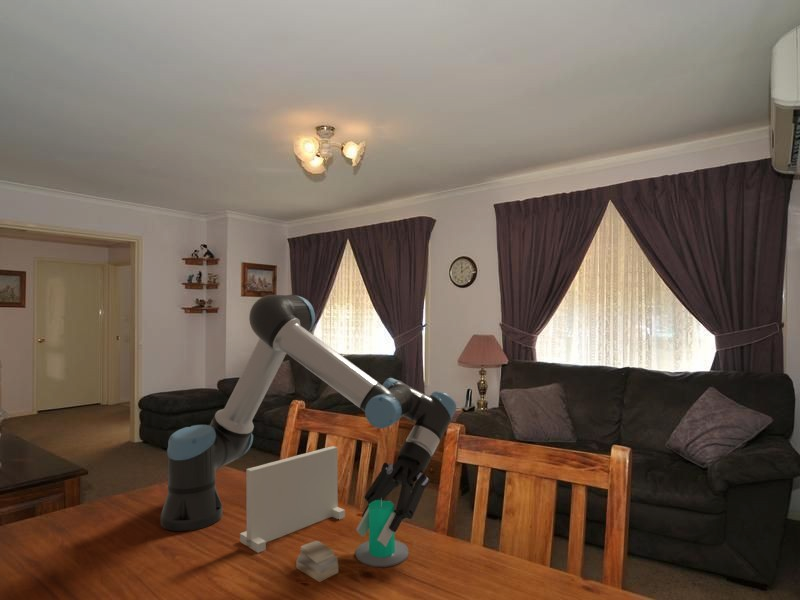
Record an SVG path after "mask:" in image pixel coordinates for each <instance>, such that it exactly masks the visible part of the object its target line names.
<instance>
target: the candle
mask: <svg viewBox="0 0 800 600" xmlns="http://www.w3.org/2000/svg"><path fill="white" fill-rule="evenodd" d="M394 510H395V504H394V503H393V502H392V501H391V500H383V501H382V498H381V500H375V501H373V502H371V503H370V504H369V529H368V541H369V553H370V554H371V555H372V556H376V557H387V556H390V555H392V554H393V553H394V552H395V540H396V532H393V534H392V536H391V538H390V540H389V542H388V543H387V545H386V547H385V546H383V545H382V544H381V543H380V542H379V541H378V540H377V539H378V537H379V535H380V533H381V532H382V530H383V528H384V526H385V524H386V522H387V520H388V518H389V517H390V515H391V513H394V514H395V512H394Z"/></svg>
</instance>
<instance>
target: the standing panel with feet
mask: <svg viewBox="0 0 800 600" xmlns="http://www.w3.org/2000/svg"><path fill="white" fill-rule="evenodd" d="M338 472H339V471H338V447H337V446H333V445H331V446H328V447H325V448H320V449H317V450H313V451H309V452H306V453H301V454H298V455H294V456H290V457H287V458H283V459H280V460H276V461H270V462H268V463H264V464H261V465H257V466H253V467H248V468H246V475H245V476H246V480H245V481H246V488H245V489H246V493H245V494H246V501H245V502H246V509H245V510H246V530H245V531H243V532H239V542H240V543H241V544H243V545H245V546H247V547H248V548H249V549H250V550H253V551H254V552H255V553H257V554H259V553H261V552H264V551H266V550H267V549H266V548H267V543H269V542H272V541H274V540H276V539H278V538H282V537H284V536H287V535H289V534H292V533H294V532H296V531H299V530H302V529H304V528H306V527H309V526H311V525H315V524H317V523H319V522H322V521H324V520H327V519H330V518H333V519H336V520H338V519H339V521H340V520H342V519H345V518H346V509H344V508H341V507H339V505H338V503H339V502H338V500H339V496H338V487H339V486H338V485H339V484H338V477H339V476H338Z"/></svg>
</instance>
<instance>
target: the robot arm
mask: <svg viewBox="0 0 800 600" xmlns="http://www.w3.org/2000/svg"><path fill="white" fill-rule="evenodd" d="M248 320H249V325H250V327H251V330H252V331H253V332H254V334H255V335H256V336H257V337H258V338H259V339H258V341H257V343H256V345H255V347H254V349H253V351H252V353H251V355H250V357H249V359H248V361H247V363H246V365H245V366H244V368H243V371H242V373H241V375H239V376H240V377H239V379H238V381H237V382H236V385H235V387H234V389H233V391H232V392H231V395H230V396H229V398H228V400H227V402H226V405H225V406H224V408H222V409H219V410H217V411H216V412H215V415H214V416H213V418H212V420H211V422H210V424H208V425H207V424H194V425H191V426H185V427H182V428H180V429H177V430H176V431H175V432H173V433H172V434H171V435H170V436H169V439H168V441H167V442H168V445H167V448H166V453H167V455H166V456H167V495H166V498H165V502H164V505H163V508H162V511H161V513H160V526H161V527H162V528H163V529H164V530H168V531H172V532H173V531H174V532H187V531H194V530H198V529H203V528H206V527H209V526H211V525H213V524H215V523H218V521H219V520H221V518H222V517H223V504H222V500H221V498H220V496H219V493H218V490H217V488H216V487H217V486H216V470H217V469H220V468H222V467H224V466H226V465H228V464H230V463H232V462H235V461H237V460H239V459H240V458H242V456H244V455H245V454H246V453H247V452H248V451H249V450H250V448H251V446H252V445H253V441H254V434H253V431H254V428H255V425H254V423H253V419H254V418H255V415H256V414H257V412H258V409H259V408H260V406H261V404H262V402H263V400H264V398H265V396H266V394H267V393H268V391H269V390H270V389H269V388H270V386H271V384H272V382H273V381H274V380H275V377H276V375H277V373H278V370H279V369H280V367H281V366H282V363H283V362H284V359H285V357H286V356H287V355H288V356H290V357H291V358H292V359H293V360H295V362H298V363H299V364H300V365H302V366H303V367H304V368H305V369H307V370H308V371H309V372H311V373H312V374H313V375H315V376H316V377H318V378H319V379H320V380H322V381H323V382H324V383H325V384H327V385H328V386H330V387H331V388H332V389H333V390H335V391H337V393H339V394H340V395H342V396H343V397H344V398H346V399H347V400H348V401H349V402H351V403H353V405H355V406H356V407H357V408H359V409H360V410H362V411H363V412H364V414H365V418H366V420H367V421H368V423H369V424H370V426H373V427H374V428H376V429H387V428H389V427H391V426H393V425H396V423H398V421H399V420H400V419H401V418H402V417H404V418H406V419H407V420H410V421H412V422H414V425H413V427H412V429H411V430H410V432H409V434H408V435H407V438H406V439H405V442H403V445H401V448H400V449H399V452H398V456H397V460H395V462H394V463H393V464H389V463H387V462H384V463H383V464H382V467H381V470H380V471H379V474H378V475H377V476H376V477H375V479H374V481H373V482H372V484H371V486H370V487H369V489H368V490H367V492H366V493H365V495H364V499H365V500H366V502H367V505H366V507H365V509H364V511H363V512H362V515H361V519H360V521H359V523H358V525H357V527H356V529H355V531H356V532H357V533H358V534H359V535H360V536H362V537H365V536H366V534H367V532H369V504H370V503H371V502H373V501H376V500H381V498H382V501H385V499H386V498H387V497H388V496H389V494H391V492H392V491H393V490H394V489H395V488H397V487H399V485H401V487H400V491H399V496H398V500H397V504H396V509H394V513H391V515H390V517H389V518H388V520H387V522H386V524H385V526H384V528H383V530H382V532H381V533H380V535H379V537H378V539H377V540H378V541H379V542H380V543H381V544H382V545H383V546H385V547H386V545H387V543H388V542H389V540H390V538H391V536H392V534H393V532H395V533H396V532H397V531H398V529H399V527H400V526H401V523H402V521H403V520H404V519H408V520H411V519H412V518H413V517H414V514H415V512H416V510H417V508H418V505H419V503H420V500H421V498H422V497H423V496H422V495H423V493H424V491H425V489H426V488H427V487H428V486H429V484H430V482H431V480H430V478H428V476H427V475H426V474H425V473H423V472H424V471H426V469H427V468H428V465H429V463H430V462H431V459H432V456H433V455H434V453H435V452H436V450H437V448H438V446H439V445H440V442H441V440H442V439H443V437H444V435H445V433H446V431H447V429H448V427H449V425H450V424H451V422H452V420H453V417H454V415H455V413H456V410H457V403H456V400H455V399H454V398H453V397H452V396H450V395H449V394H448V393H445V392H441V391H439V390H438V391H437V390H436V391H433V392H432V393H431V394H430V395H428V394H425V393H423V392H421V391H420V390H417V389H416V388H414V387H412V386H409V385H408V384H406V383H404V382H403V381H401V380H398V379H395V378H393V377H389V378H386V380H385V381H384V382H383V383H382V384H381V383H380V382H379V381H378V380H376V379H375V378H374V377H372V376H370V375H369V374H368V373H366V372H365V371H364V370H362V368H361V369H360V367H358V366H357V365H355V364H354V363H353V362H351V360H349V359H347V358H346V357H344V356H343V355H342V354H340V353H339V352H337V351H336V350H335V349H333V348H332V347H331V346H329V345H327V344H326V343H325V342H324V341H322V340H321V339H320V338H319V337H317V336H316V335H314V334H313V333H311V330H312V329H313V327H314V325H315V322H316V313H315V309H314V307H313V305H312V304H311V302H310V301H309V300H308V299H306V298H305V297H303V296H300V295H297V294H287V295H285V294H268V295H264V296H262V297H259V299H257V300H256V301H255V302H254V303H253V305H252V306H251V309H250V311H249V319H248Z"/></svg>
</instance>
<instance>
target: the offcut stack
mask: <svg viewBox="0 0 800 600" xmlns="http://www.w3.org/2000/svg"><path fill="white" fill-rule="evenodd" d="M334 552H335V551H334V549H332V548H330V547H329V546H327V545H325V544H324V543H322V542H321V541H319V540H313V541H311V542H308V543H306V544H303V545H301V546H300V553H299V554H297V559H296V561H295V562H296V565H295V566H296V570H297V569H298V570H299V571H300V572H302V573H304V574H305V575H307V576H308V577H310V578H311V579H313V580H315V581H317V582H319V583H321V582H323V581H324V580H327V579H328V578H330V577H332V576H335V575H336V574H338V573H339V563H338V556H337V555H335V553H334Z"/></svg>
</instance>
